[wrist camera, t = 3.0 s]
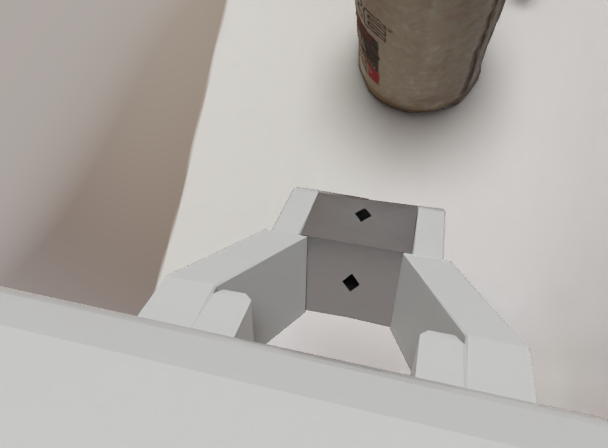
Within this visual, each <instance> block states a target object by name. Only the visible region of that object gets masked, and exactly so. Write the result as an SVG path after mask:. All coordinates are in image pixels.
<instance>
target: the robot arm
mask: <svg viewBox="0 0 608 448" xmlns="http://www.w3.org/2000/svg"><path fill="white" fill-rule="evenodd" d="M445 213H446V211H445V210H444V209H440V208H432V207H423V206H414V205H406V204H398V203H390V202H383V201H375V200H369V199H366V198H360V197H354V196H349V195H343V194H337V193H331V192H326V191H319V190H315V189H307V188H300V187H297V188H295V189H293V191H292V193H291V195H290V197H289V199H288V201H287V202H286V204H285V206H284V208H283V210H282V212H281V214H280V216H279V218H278V220H277V221H276V223H275V225H274V227H273V229H272V230H267V229H265V230H262V231H260V232H258V233H256V234H254V235H252V236H250V237H248V238H246V239H243V240H241V241H239V242H237V243H235V244H233V245H231V246H229V247H227V248H225V249H222V250H220V251H218V252H216V253H214V254H212V255H210V256H208V257H206V258H203V259H201V260H199V261H197V262H195V263H193V264H191V265H189V266H187V267H184V268H182V269H180V270H178V271H176V272H174V273H172V274H170V275H168V276H166V277H165V279H164V280H163V282H162V283H161V284H160V286H159V287H158V288H157V290H156V291H155V293H154V294H153V295H152V297H151V298H150V299H149V301H148V302H147V304H146V305H145V306H144V308H143V309H142V311H141V312H140V313H139V315H138V316H134V315H130V314H124V313H120V312H116V311H111V310H106V309H102V308H98V307H93V306H88V305H84V304H79V303H75V302H70V301H66V300H61V299H56V298H52V297H47V296H43V295H38V294H34V293H29V292H24V291H20V290H15V289H11V288H6V287H2V286H0V448H608V419H605V418H601V417H596V416H592V415H587V414H582V413H578V412H573V411H569V410H564V409H560V408H555V407H551V406H546V405H541V404H537V400H536V393H535V385H534V378H533V371H532V364H531V357H530V350H529V348H528V347H527V346H526V345H525V343H524V342H523V341H522V340H521V339H520V338H519V337H518V336H517V334H516V333H515V332H514V331H513V330H512V329H511V328H510V327H509V325H508V324H507V323H506V322H505V321H504V320H503V319H502V318H501V317H500V315H499V314H498V313H497V312H496V311H495V310H494V309H493V308H492V306H491V305H490V304H489V303H488V302H487V301H486V300H485V299H484V297H483V296H482V295H481V294H480V293H479V292H478V291H477V290H476V288H475V287H474V286H473V285H472V284H471V283H470V282H469V281H468V280H467V278H466V277H465V276H464V275H463V274H462V273H461V272H460V271H459V269H458V268H457V267H456V266H455V265H454V264H453V263H452V262H451V261H448V260H444V237H445ZM305 310H309V311H315V312H321V313H326V314H332V315H338V316H344V317H349V318H353V319H358V320H362V321H366V322H371V323H375V324H380V325H384V326H388V327H390V330H391V332H392V334H393V336H394V338H395V340H396V342H397V344H398V346H399V348H400V350H401V352H402V354H403V356H404V358H405V360H406V362H407V364H408V366H409V368H410V370H411V375H410V376H409V375H405V374H400V373H396V372H391V371H386V370H382V369H377V368H373V367H368V366H363V365H359V364H354V363H350V362H345V361H340V360H336V359H331V358H327V357H322V356H317V355H313V354H308V353H303V352H299V351H294V350H290V349H285V348H280V347H276V346H271V345H267V344H266V343H267V342H269V341H270V340H271V339H272V338H274V337H275V336H276V335H277V334H279V333H280V332H281V331H282V330H284V329H285V328H286V327H287V326H289V325H290V324H291V323H292V322H294V321H295V320H296V319H297V318H299V317H300V316H301V315H302V314H303V313H305Z"/></svg>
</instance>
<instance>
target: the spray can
mask: <svg viewBox="0 0 608 448" xmlns="http://www.w3.org/2000/svg"><path fill="white" fill-rule="evenodd" d="M505 1H506V0H355V4H356V15H357V32H358V38H359V67H360V70H361V72H362V74H363V77H364V79H365V81H366V84H367V86H368V89H369V90H370V92H371V93H372V94H373V95H374V96H375V97H376V98H377V99H378V100H379V101H381V102H382V103H384V104H386V105H388V106H391V107H394V108H396V109H399V110H402V111H405V112H423V111H432V110H438V109H441V110H442V109H443V108H445V107H448V106H452V105H455V104H457V103H458V102H460V101H461V100H462V99H463V98H464V96H465V95H466V94H467V93H468V92H469V90H470V89H471V88H472V87H473V85H474V84H475V83H476V81H477V80H478V77H479V75H480V71H481V63H482V60H483V57H484V54H485V51H486V48H487V45H488V43H489V41H490V39H491V36H492V34H493V31H494V28H495V26H496V23H497V21H498V19H499V17H500V14H501V12H502V9H503V6H504V3H505Z"/></svg>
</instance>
